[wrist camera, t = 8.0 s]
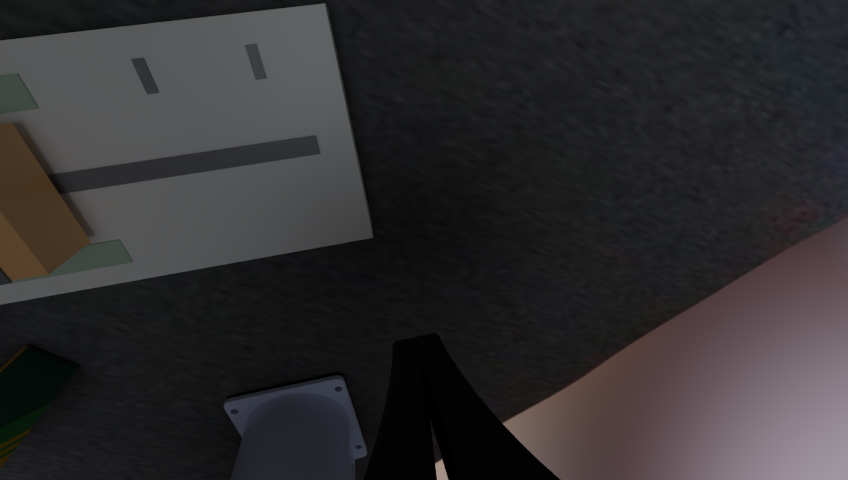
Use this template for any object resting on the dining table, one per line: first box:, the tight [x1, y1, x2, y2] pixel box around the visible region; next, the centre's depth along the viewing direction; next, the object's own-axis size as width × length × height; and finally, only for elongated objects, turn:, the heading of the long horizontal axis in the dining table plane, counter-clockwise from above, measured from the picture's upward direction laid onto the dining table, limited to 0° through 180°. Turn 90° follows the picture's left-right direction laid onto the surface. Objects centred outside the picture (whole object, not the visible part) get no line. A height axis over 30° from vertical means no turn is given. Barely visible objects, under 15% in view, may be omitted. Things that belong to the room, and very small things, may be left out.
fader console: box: [0, 4, 373, 305], centre depth 16 cm, size 10×22×2 cm, turn 96°
